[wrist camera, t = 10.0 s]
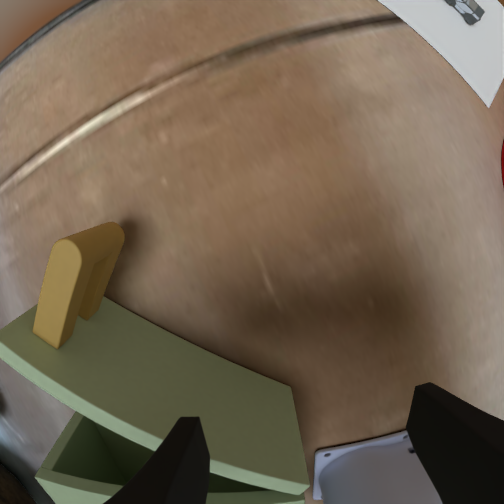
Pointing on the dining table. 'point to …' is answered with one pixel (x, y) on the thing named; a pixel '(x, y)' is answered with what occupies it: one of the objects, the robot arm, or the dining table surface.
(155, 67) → the dining table surface
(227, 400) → the cupboard door
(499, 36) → the white paper sheet
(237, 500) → the cupboard
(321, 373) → the dining table surface
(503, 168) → the decorative ornament
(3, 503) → the bowl
